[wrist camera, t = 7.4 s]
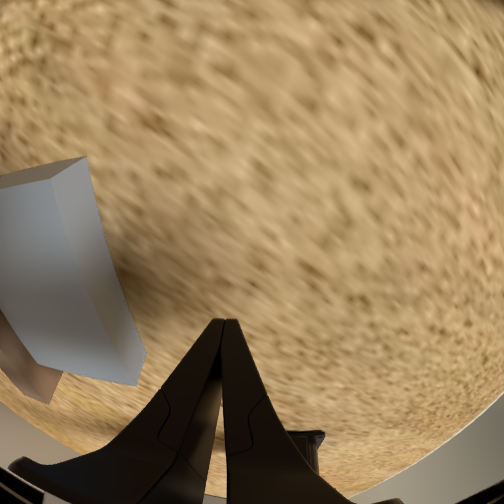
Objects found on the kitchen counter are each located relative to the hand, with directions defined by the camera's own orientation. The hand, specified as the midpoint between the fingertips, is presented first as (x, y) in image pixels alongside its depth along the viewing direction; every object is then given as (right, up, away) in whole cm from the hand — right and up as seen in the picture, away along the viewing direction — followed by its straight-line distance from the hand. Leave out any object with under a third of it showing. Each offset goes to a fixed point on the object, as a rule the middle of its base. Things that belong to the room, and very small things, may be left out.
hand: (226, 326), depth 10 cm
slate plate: (-10, +2, +4) cm, 11 cm away
